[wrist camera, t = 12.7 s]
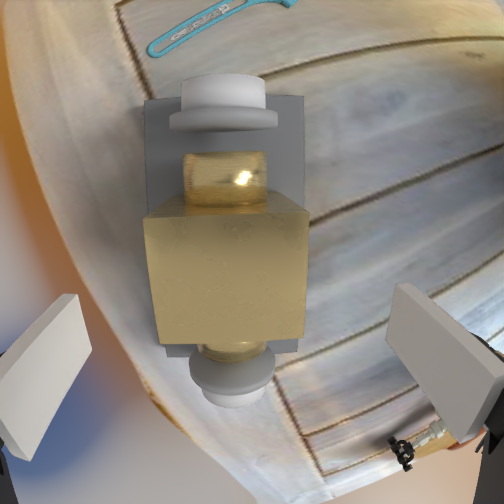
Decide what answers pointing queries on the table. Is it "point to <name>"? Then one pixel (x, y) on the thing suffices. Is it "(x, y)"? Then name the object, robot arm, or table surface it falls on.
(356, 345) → the table surface
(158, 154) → the pipe run plate
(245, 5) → the adjustable wrench
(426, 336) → the robot arm
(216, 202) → the brass gate valve
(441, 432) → the valve
